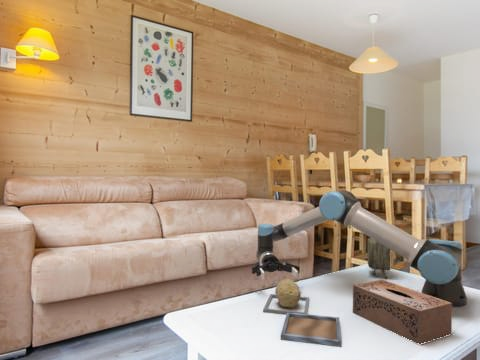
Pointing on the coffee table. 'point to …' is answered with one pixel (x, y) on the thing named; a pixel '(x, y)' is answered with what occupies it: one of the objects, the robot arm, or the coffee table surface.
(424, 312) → the tissue box cover
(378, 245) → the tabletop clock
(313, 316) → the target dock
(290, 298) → the coral
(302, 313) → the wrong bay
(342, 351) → the coffee table surface
